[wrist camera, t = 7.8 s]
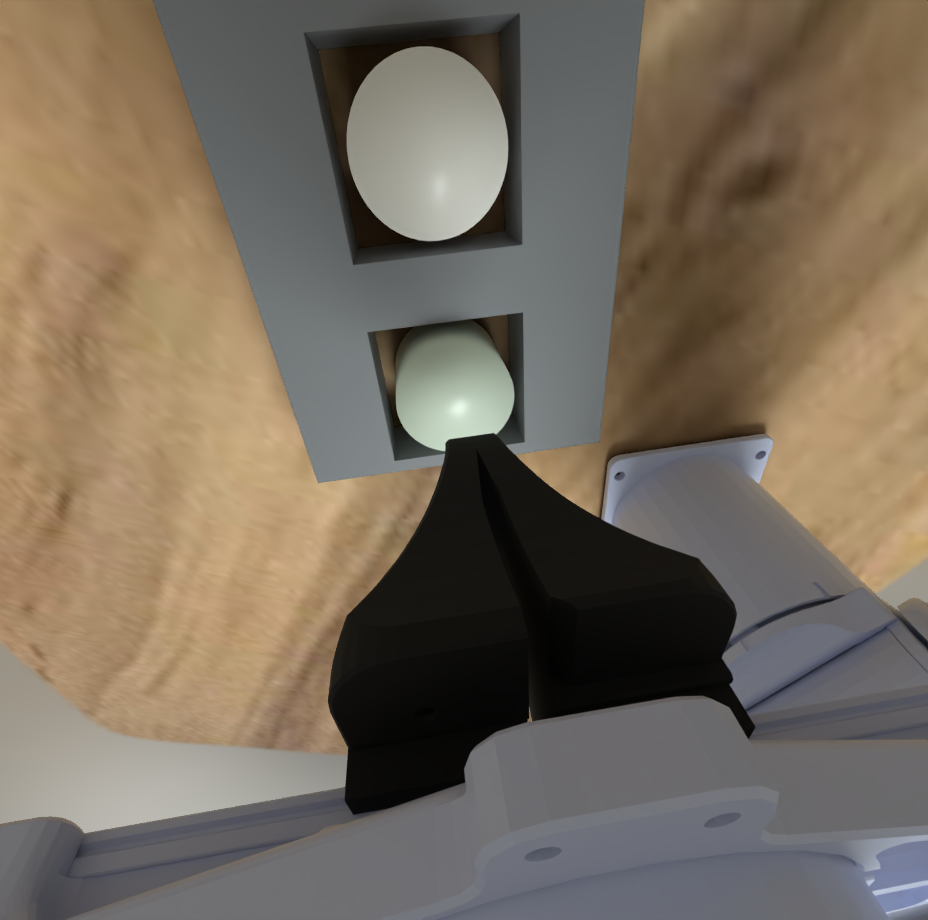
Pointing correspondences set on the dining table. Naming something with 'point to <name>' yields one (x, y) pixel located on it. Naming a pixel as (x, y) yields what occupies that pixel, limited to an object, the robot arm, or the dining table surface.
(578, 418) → the button panel
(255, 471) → the dining table surface
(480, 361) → the pale green egg
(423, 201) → the white rounded piece
